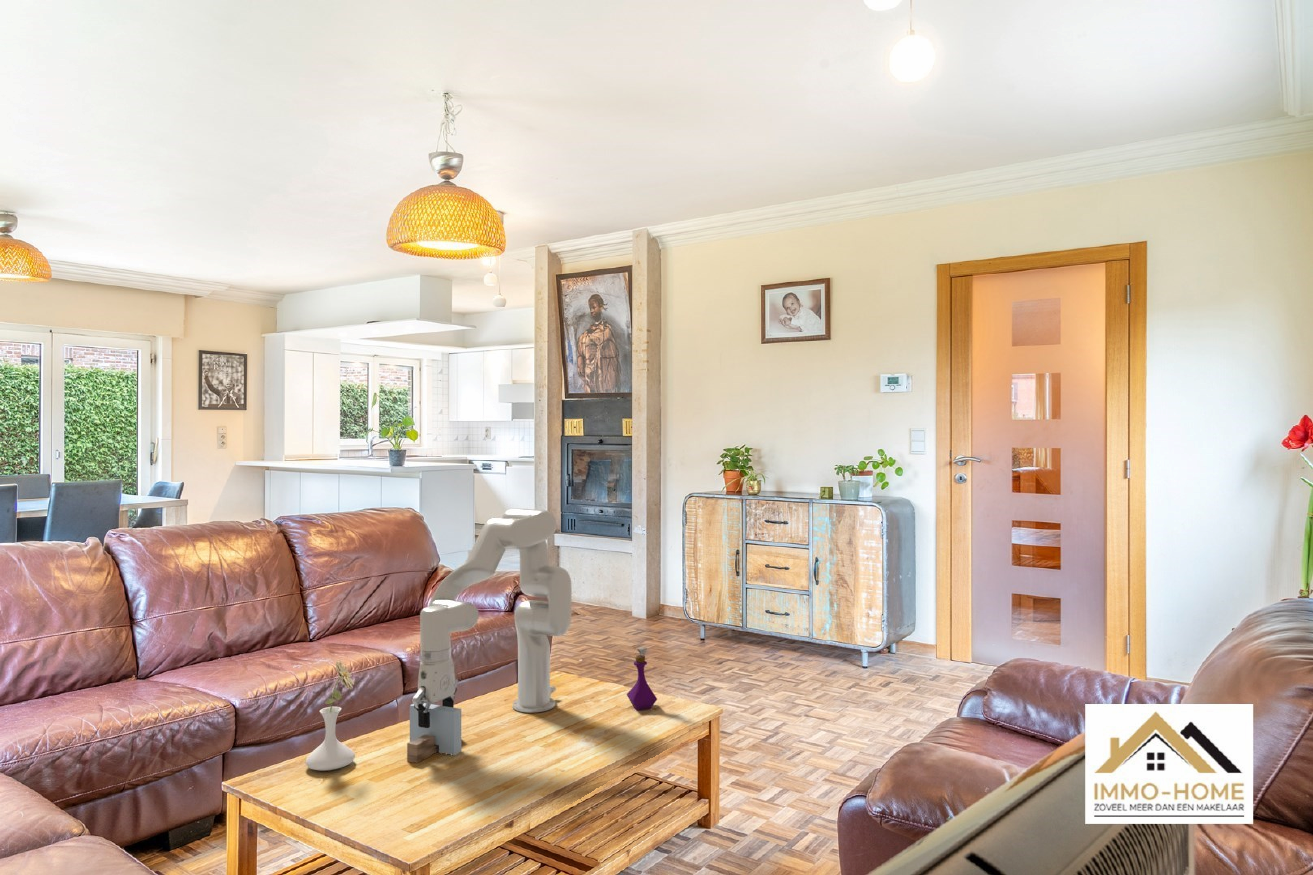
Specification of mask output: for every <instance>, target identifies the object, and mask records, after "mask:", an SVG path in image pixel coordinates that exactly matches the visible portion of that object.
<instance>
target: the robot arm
mask: <svg viewBox="0 0 1313 875" xmlns="http://www.w3.org/2000/svg"><path fill="white" fill-rule="evenodd" d="M556 529H557V519H556V517H555V515H554V513H552V512H551V511H549V510H546V509H532V508H531V509H530V508H509V509H508V510H506V511H504V512H503V515H502V517H493V518H490V519H488V520H487V521H486V522H485V523H484V525H483V526H482V528H481V531H480V532H479V535H478V536H477V539H476V541H475V542H474V543H473V546H472V547H471V550H470V552H469V553H468V556H467V558H466V560H465V561H464V562H463V563H462V564H461V565H460V566H458V567H456V568H455V569H454V570H453V571H452V572H450V573H449V574H448V575H447V576H445V578H444V579H443V580H441V581H440V583H439V585H438V586H437V588H436V590H435V591H434V593H433V595H432V597H431V599H430V601H429V604H428V606H426V607H423V608H422V610H421V611H420V613H419V624H420V626H419V627H420V628H419V630H420V633H419V634H420V636H419V638H420V640H419V641H420V646H419V648H420V664H419V670H418V676H417V678H418V679H417V691H416V693H415V694H414V696H412V699H411V701H412V704H414V708H415V709H416V711H417V712H418V726H419V727H423V728H429V727H430V712H428V710H429V707H430V705H431V704H437V703H439V702H441V701H442V703H441V704H442V705H441V706H446V707H453V708H455V707H454V705H455V703H454V702H455V701H454V700H455V698H456V694H457V691H458V690H457V687H458V685H459V679H458V678H456V674H455V673H456V672H455V665H454V661H453V657H452V655H451V653H452V649H451V647H452V646H451V633H454V632H465V631H468V630H471V629H472V628H473V627H474V626H475V625H476V624H477V623H478V620H479V616H480V613H479V610H478V608H477V606H476V605H475V604H474V603H471V602H469V601H468V602H467V601H463V600H462V601H461V600H456V599H457V597H458V596H459V595H460V594H461V593H462V592H463V591H464V590H466V589H467V588H469V587H471V586H472V585H475V584H478V583H481V582H484V581H485V580H488V579H491V578H492V577H493V576H494V574H495V573H496V570H497V568H498V567H499V564H500V562H501V560H502V557H503V556H504V554H505V552H506V550H518V552H519V586H520V587H519V588H520V590H521V592H522V593H523V594H524V595H526V596H530V597H535V598H544V599H547V601H543V600H536V599H534V600H533V599H529V600H528V599H527V600H525V601H522V602H520V603H519V604H518V606H517V607H516V608H515V611H514V624H515V625H514V626H515V629H516V630H515V631H516V636H517V699H516V700H514V701H513V702H512V709H513V710H515V711H517V712H520V713H530V714H531V713H542V712H547V711H550V710H552V709H553V708H555V707H556V700H555V699H553V698H552V697H551V695H552V694H553V693H554V692H556V691H557V688H556V686H555V685H551V644H550V642H549V639H548V636H550V637H551V636H552V637H562V636H564V635H566V634H567V632H568V631H569V630H570V626H571V622H572V594H573V593H572V580H571V576H570V574H569V572H568V571H567V570H566V568H563V567H561V566H557V565H556V566H555V565H550V562H549V547H548V544H547V540H549V539H550V538H551V537H552V536H553V535H554V533H555V532H556ZM424 703H426V705H425V707H424V706H423V704H424Z"/></svg>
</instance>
